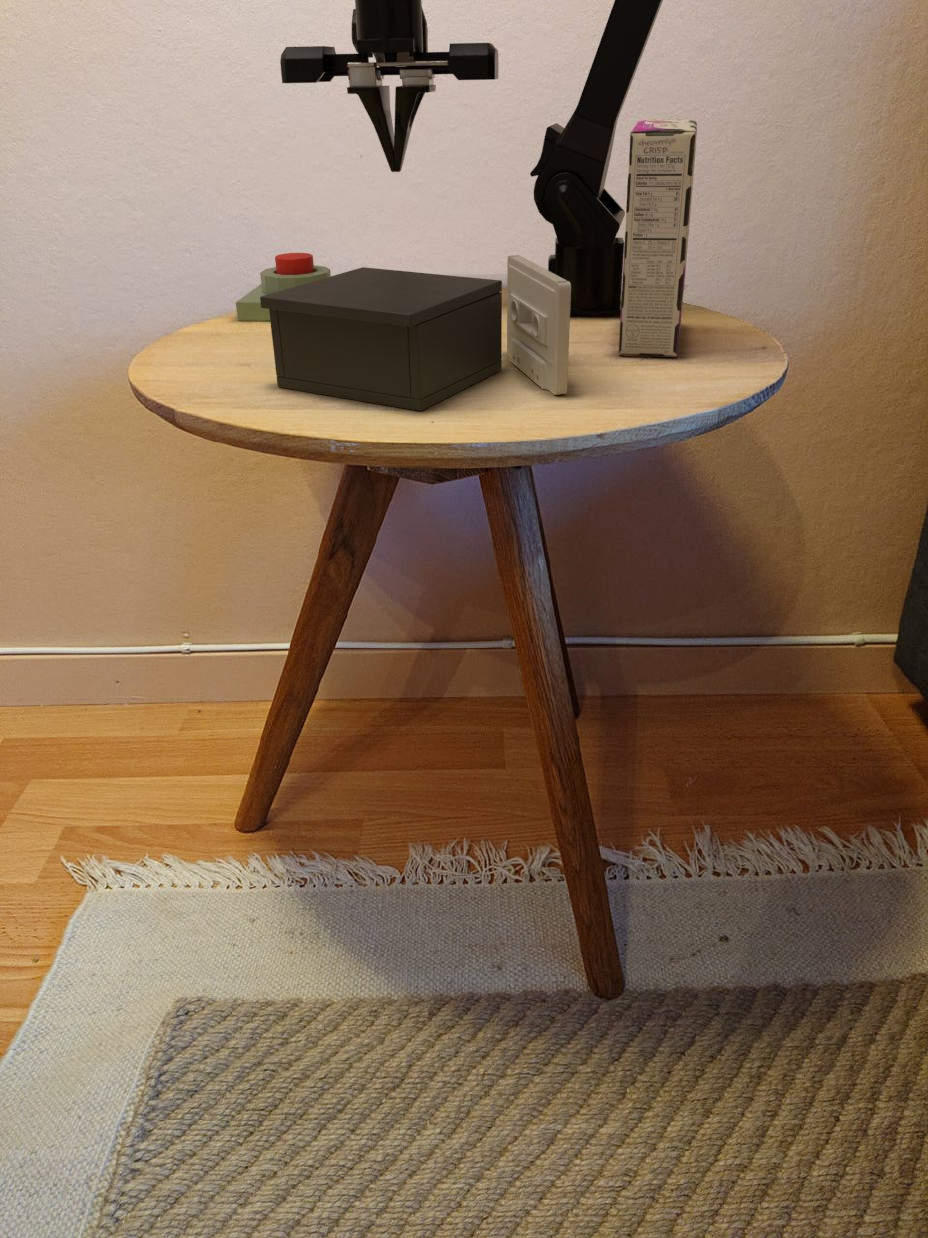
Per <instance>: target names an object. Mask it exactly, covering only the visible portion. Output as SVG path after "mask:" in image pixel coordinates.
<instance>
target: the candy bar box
mask: <svg viewBox="0 0 928 1238" xmlns="http://www.w3.org/2000/svg"><path fill="white" fill-rule="evenodd" d="M697 132H698V123H697V120H696V119H685V118H683V119H682V118H679V119H678V118H677V119H676V118H675V119H673V118H672V119H671V118H669V119H668V118H667V119H644V120H640V121H639V120H638V121H637V122H636V124H635V125H634V127H633V128H632V130H630V133H629V154H628V155H629V156H628V171H627V172H628V174H627V186H626V187H627V188H626V204H625V205H626V206H625V207H626V208H625V227H624V228H625V229H624V256H623V272H622V288H621V315H620V318H619V320H620V322H619V336H618V337H619V339H618V355H620V356H625V357H635V358H636V357H637V358H638V357H639V358H640V357H644V358H676V357H677V356H678V351H679V342H680V334H681V325H682V313H683V301H684V291H685V282H686V281H685V280H686V270H687V258H688V245H689V232H690V224H691V223H690V222H691V212H692V211H691V210H692V200H693V199H692V198H693V188H694V176H695V175H694V174H695V163H696V149H697V135H698V133H697Z"/></svg>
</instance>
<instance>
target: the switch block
mask: <svg viewBox="0 0 928 1238" xmlns="http://www.w3.org/2000/svg"><path fill="white" fill-rule="evenodd" d="M259 275H260V276H259V277H260V284H259V285H257V286H256V287H254V288H253V289H252V290H251V291H249V292H248V293H246V294H245V295H243V296H242V297H241V298H239V299H238V300H236V301H235V308H236V315H237V321H239V322H241V321H246V322H251V321H252V322H254V321H255V322H260V321H261V322H270V314H269V309H265V308H261V302H260V297H261V296H264V295H268V294H271V293H275V292H278V291H282V290H285V289H289V288H292V287H296V286H299V285H303V284H306V283H310V282H313V281H317V280H320V279H324V278H327V277H331V276H332V273H331V269H330V268H329V267H327V266H323V265H315V264H314V272H313V273H309V274H301V275H281V274H277V273H276V266H273V267H268V268H265V269H264V270H262V271H261V272H260V273H259Z"/></svg>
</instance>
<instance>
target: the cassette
mask: <svg viewBox="0 0 928 1238" xmlns="http://www.w3.org/2000/svg"><path fill="white" fill-rule="evenodd" d="M506 260H507V261H506V264H507V265H506V266H507V267H506V268H507V269H506V270H507V271H506V274H507V275H506V276H507V278H506V281H507V282H506V284H507V285H506V287H507V288H506V299H507V300H506V304H507V305H506V308H507V309H506V354H507V355H506V356H507V357H508V358H509V360H508V361H509V362H510V363H511V364H512V365H514V366H515V367H516V368H517V369H519V370H520V371H521V373H523V374H524V375H526V377H528V378H529V379H530V380H531V381H532V382H534V383H535V384H536V385H537V386H538V387H540V388H541V389H542V390H547V391H549V392H550V393H551V394H553V395H554V396H558V395H566V394H567V393H568V383H569V382H568V380H569V355H570V327H571V326H570V323H571V315H570V302H571V284H570V282H569V281H567V280H565V279H563V278H561V277H559V276H557V275H555V274H554V273H552V272H550V271H548V269H546V268H544V267H543V266H541V265H538V264H536V263H535V262H533V261H532V260H529V259H526V257H523V256H522V255H520V254H516V255H513V254H512V255H507V259H506Z"/></svg>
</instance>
